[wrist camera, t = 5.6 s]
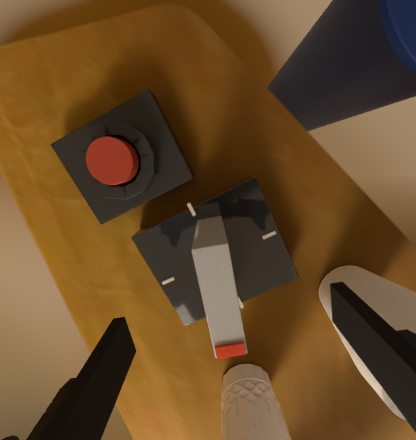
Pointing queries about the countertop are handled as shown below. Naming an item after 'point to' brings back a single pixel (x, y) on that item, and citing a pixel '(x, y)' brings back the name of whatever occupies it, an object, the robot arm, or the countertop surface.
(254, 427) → the white cup
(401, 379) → the robot arm
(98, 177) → the button
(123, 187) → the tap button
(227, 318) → the upright gray tile
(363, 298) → the cup
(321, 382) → the countertop surface
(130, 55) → the countertop surface
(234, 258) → the dark gray dial base
